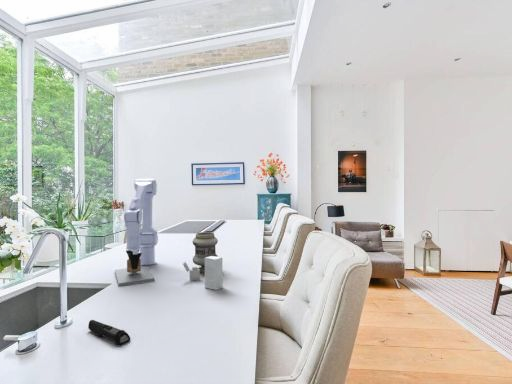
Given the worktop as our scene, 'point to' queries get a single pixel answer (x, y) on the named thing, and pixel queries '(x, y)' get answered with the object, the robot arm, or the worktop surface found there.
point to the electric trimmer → (109, 332)
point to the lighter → (193, 272)
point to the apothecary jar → (204, 248)
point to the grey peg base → (133, 276)
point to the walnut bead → (129, 268)
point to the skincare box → (213, 272)
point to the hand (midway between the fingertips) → (133, 267)
